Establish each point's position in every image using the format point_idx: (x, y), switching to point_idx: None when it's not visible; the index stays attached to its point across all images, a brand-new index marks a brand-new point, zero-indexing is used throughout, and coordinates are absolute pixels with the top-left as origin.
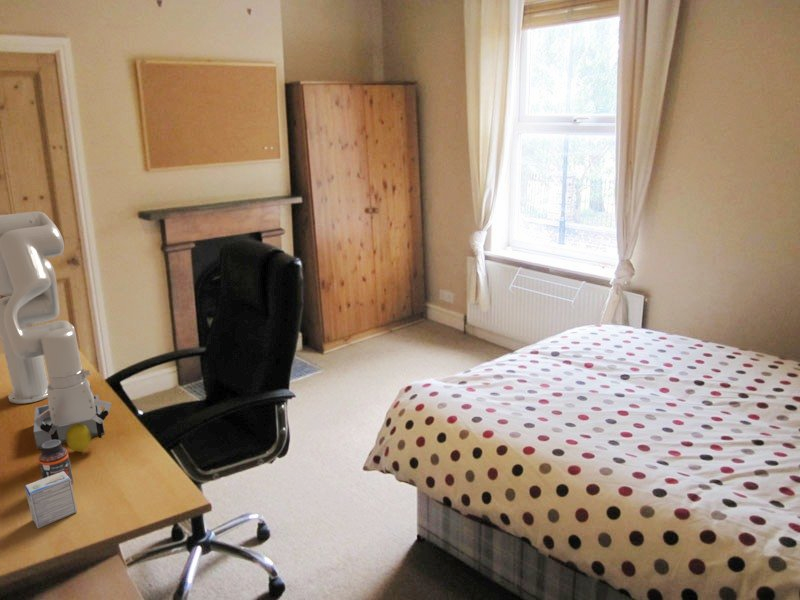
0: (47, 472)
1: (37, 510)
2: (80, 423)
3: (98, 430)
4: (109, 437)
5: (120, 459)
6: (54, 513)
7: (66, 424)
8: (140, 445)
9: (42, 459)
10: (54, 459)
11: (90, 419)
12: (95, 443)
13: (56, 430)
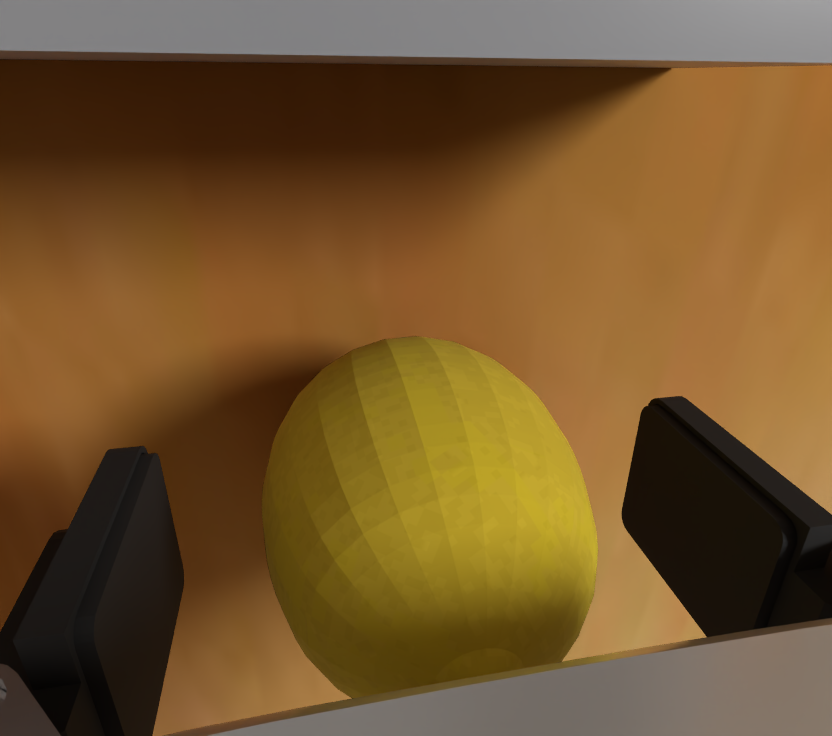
0: None
1: None
2: (499, 59)
3: (692, 605)
4: (686, 201)
5: (644, 613)
6: None
7: (214, 23)
8: (824, 479)
9: None
10: None
11: (707, 53)
12: (535, 275)
13: (97, 672)
